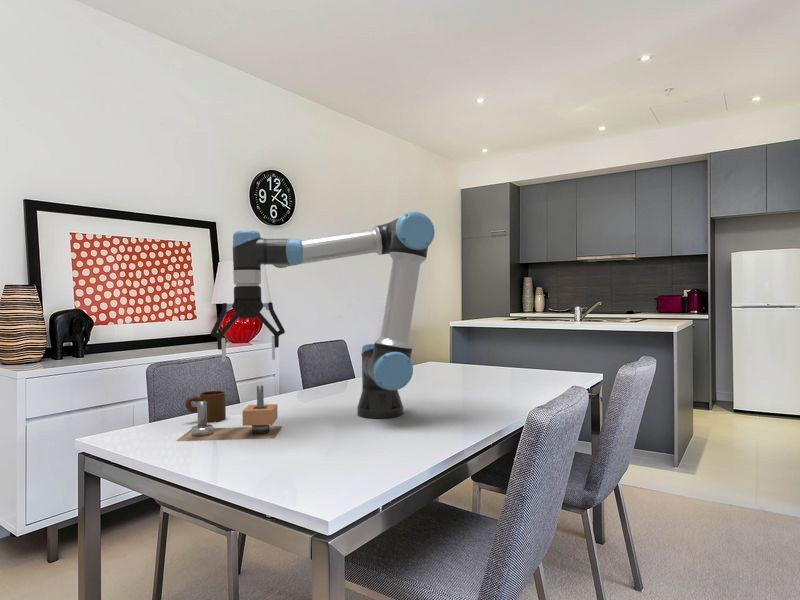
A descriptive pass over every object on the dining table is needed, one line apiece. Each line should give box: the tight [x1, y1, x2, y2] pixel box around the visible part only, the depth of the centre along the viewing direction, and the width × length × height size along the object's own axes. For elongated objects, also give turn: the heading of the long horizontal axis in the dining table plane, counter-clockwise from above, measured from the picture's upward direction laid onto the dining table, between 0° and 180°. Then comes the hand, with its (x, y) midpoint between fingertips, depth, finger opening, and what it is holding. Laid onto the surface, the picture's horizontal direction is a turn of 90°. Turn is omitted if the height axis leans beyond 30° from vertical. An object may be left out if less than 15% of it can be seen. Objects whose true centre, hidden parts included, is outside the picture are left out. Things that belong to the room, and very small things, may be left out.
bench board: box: [175, 425, 283, 442], centre depth 145 cm, size 26×13×1 cm, turn 93°
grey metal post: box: [191, 401, 214, 437], centre depth 145 cm, size 6×6×9 cm
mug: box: [184, 390, 227, 424], centre depth 160 cm, size 12×8×9 cm, turn 130°
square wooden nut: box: [241, 403, 278, 427], centre depth 146 cm, size 8×8×4 cm
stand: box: [251, 385, 271, 435], centre depth 146 cm, size 5×5×13 cm
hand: (249, 360), depth 148 cm, fingers open, 13 cm apart
